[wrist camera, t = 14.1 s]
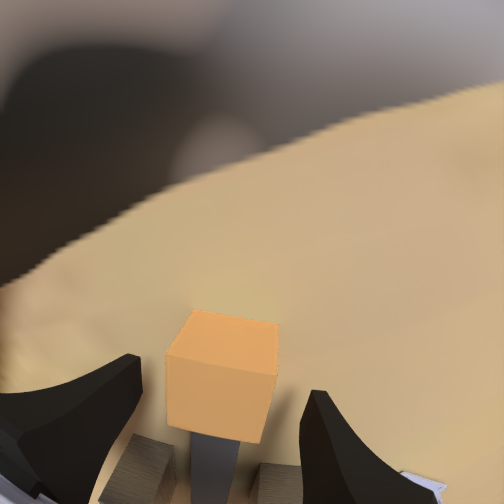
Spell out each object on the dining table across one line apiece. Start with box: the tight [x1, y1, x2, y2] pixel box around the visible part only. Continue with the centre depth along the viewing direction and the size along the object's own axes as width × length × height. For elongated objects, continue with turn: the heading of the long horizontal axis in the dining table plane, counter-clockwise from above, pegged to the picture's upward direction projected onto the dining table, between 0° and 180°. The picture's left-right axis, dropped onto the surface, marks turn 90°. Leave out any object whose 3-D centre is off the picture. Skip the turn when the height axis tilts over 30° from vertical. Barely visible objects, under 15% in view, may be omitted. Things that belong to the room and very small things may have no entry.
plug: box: [166, 309, 278, 504], centre depth 13 cm, size 16×4×4 cm, turn 172°
